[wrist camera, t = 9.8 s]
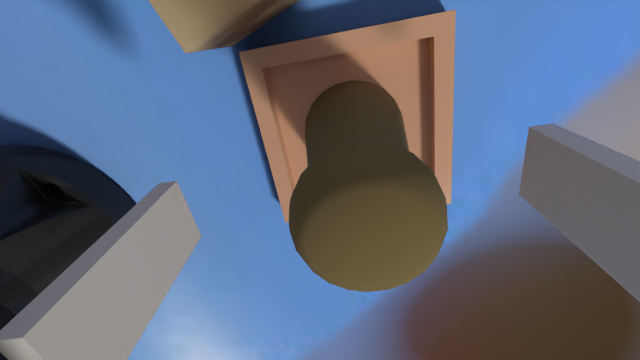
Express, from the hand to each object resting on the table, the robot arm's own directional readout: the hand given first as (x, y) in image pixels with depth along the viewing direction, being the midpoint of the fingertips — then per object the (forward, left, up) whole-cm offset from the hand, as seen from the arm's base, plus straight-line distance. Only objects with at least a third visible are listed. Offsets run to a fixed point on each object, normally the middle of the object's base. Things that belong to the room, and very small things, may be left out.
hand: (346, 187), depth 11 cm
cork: (+1, 0, -8) cm, 8 cm away
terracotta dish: (+1, 0, -8) cm, 8 cm away
